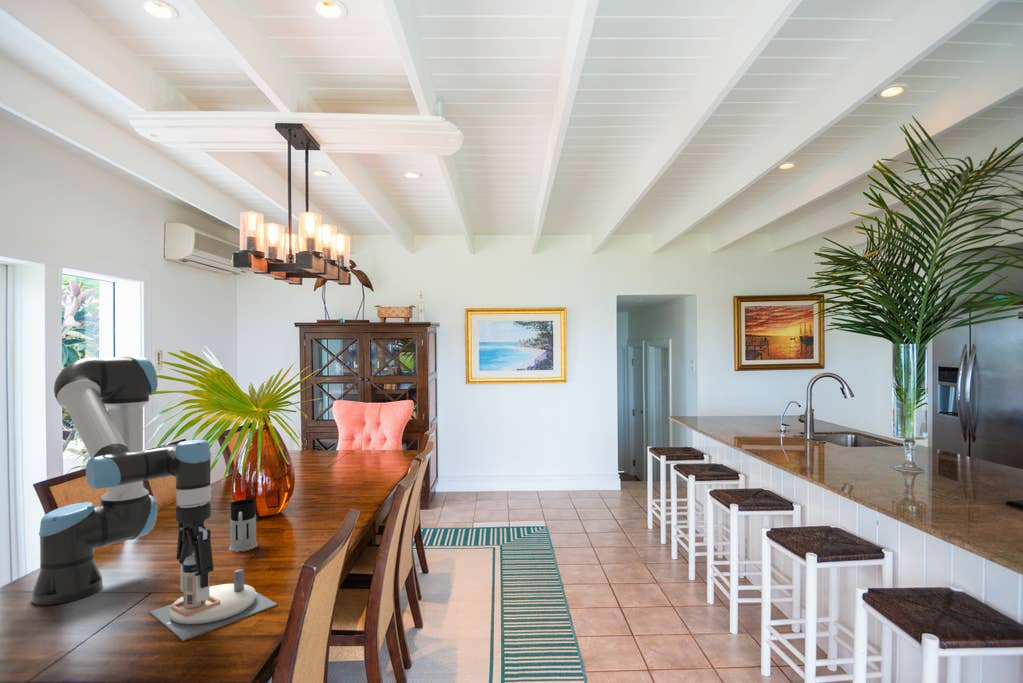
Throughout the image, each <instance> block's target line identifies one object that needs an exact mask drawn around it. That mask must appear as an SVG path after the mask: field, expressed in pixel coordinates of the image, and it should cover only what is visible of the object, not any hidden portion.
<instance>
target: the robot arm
mask: <svg viewBox="0 0 1023 683" xmlns="http://www.w3.org/2000/svg"><path fill="white" fill-rule="evenodd" d="M156 376H157V377H156ZM53 386H54V387H53V392H54V397H55V400H56V401H57V403H58V405H59V406H60V407H62V408H64V409H65V410H67V413H68V415H69V417H70V419H71V420H72V423H73V424H74V427H75V429H76V430H77V432H78V434H79V436H80V438H81V441H82V443H83V445H84V447H85V449H86V450H87V452H88V454H89V457H90V458H89V460H87V463H86V464H85V477H86V482H87V484H88V486H89V487H91V488H92V489H96V490H97V489H107V491H106V492H105V493H104V494H103V495H102V496H101V497H100V505H95V504H94V503H93V502H91V501H84V502H83V501H82V502H79V503H72V504H67V505H65V506H62V507H58V508H55V509H53V510H51V511H49V512H47V513H46V514H45V515H44V516H42V518H41V519H40V524H39V525H40V526H39V532H38V536H39V554H40V555H39V560H40V561H39V562H40V563H39V564H40V566H39V567H40V570H39V573H38V576H37V578H36V581H35V583H34V586H33V590H32V591H31V602H32V604H34V605H38V606H52V605H58V604H65V603H70V602H73V601H77V600H80V599H83V598H85V597H88V596H91V595H92V594H94V593H97V592H98V591H100V589H102V587H103V576H102V574H101V572H100V569H99V567H98V565H97V563H96V561H95V549H99V548H102V547H103V548H104V547H107V546H111V545H113V544H114V545H115V544H117V543H118V544H119V543H123V542H126V541H129V540H130V541H133V540H135V539H138V538H141V537H143V536H146V535H148V534H150V533H151V531H152V530H153V529H154V527H155V524H156V522H157V518H158V505H157V499H156V498H155V497H154V496H153V495H151V494H150V492H149V490H148V489H147V488H145V486H144V481H151V480H156V479H162V478H167V477H175V504H176V509H175V510H176V511H175V514H176V515H175V519H176V522H177V523H178V524H177V526H178V533H177V535H178V536H177V548H176V556H175V557H176V560H177V561H178V562H179V564H180V570H179V571H180V591H181V592H183V562H184V560H185V558H186V557H188V556H191V555H194V556H195V561H196V566H197V571H198V573H196V574H195V576H196V602H200V601H203V600H206V599H209V587H210V573H211V572H214V570H215V568H214V562H213V561H214V560H213V550H212V542H211V533H212V532H211V529H210V528H209V529H206V526H204V525H205V521H206V520H208V519H209V518H210V517H211V515H212V503H211V502H210V500H211V498H212V497H211V494H212V493H211V491H212V490H213V487H212V486H211V457H212V454H211V449H210V448H211V446H210V442H209V441H208V440H206V439H205V440H204V439H192V440H191V439H190V440H184V441H180V442H178V443H176V444H173V443H172V444H165V445H161V446H159V447H158V448H157V447H156V448H152V449H151V448H149V449H144V434H143V433H144V419H143V418H144V416H143V415H144V407H145V406H147V404H148V403H150V396H152V395H154V394H155V393H156V392H157V390H158V389H157V388H158V375H157V372H156V368H155V367H154V364H153V363H152V362H151V360H149V359H148V358H147V357H144V356H131V355H130V356H112V357H108V356H107V357H106V356H105V357H104V356H103V357H84V358H79V359H76V360H75V361H73V362H71V363H69V364H68V365H66V366H65V367H64V368H63V369H62V370H61V371H60V373H58V375H57V377H56V378H55V382H54V385H53ZM153 393H154V394H153Z"/></svg>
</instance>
